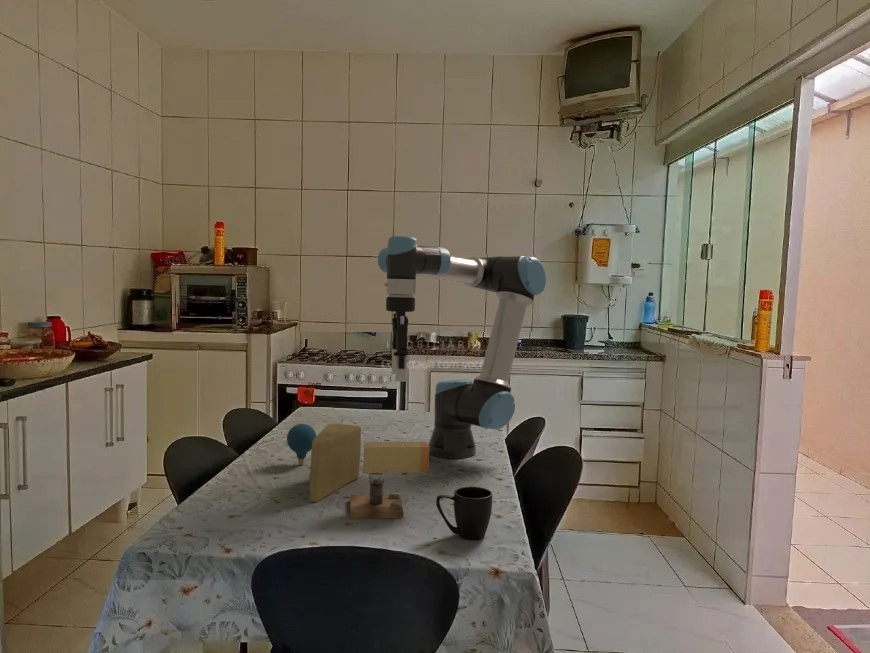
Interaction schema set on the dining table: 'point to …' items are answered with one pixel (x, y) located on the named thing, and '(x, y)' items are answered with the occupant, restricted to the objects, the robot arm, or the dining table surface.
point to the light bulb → (301, 440)
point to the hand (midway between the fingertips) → (398, 377)
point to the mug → (469, 511)
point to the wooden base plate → (376, 504)
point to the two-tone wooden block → (394, 458)
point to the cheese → (334, 459)
